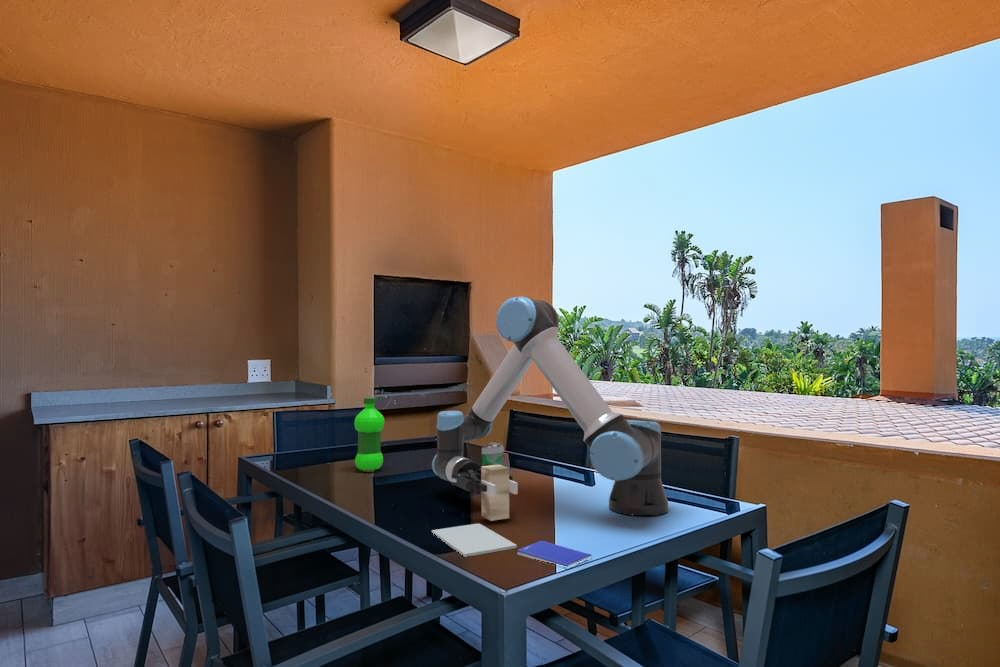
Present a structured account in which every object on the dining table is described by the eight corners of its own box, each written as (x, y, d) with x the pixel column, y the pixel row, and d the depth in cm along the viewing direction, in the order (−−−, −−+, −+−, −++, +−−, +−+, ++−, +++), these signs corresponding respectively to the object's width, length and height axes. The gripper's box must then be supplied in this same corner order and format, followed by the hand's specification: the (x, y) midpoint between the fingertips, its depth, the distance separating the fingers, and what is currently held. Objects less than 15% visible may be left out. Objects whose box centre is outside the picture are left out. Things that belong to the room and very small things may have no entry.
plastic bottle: (347, 472, 202) (348, 398, 203) (367, 467, 212) (367, 396, 213) (371, 475, 198) (372, 399, 199) (390, 469, 207) (390, 397, 208)
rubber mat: (431, 533, 134) (431, 530, 134) (479, 525, 140) (479, 523, 140) (464, 557, 118) (464, 554, 118) (516, 548, 124) (516, 545, 124)
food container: (500, 479, 191) (500, 448, 192) (481, 478, 193) (481, 447, 193) (507, 472, 203) (507, 442, 204) (489, 471, 205) (489, 442, 205)
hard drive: (517, 549, 120) (567, 564, 112) (542, 539, 126) (591, 553, 118) (517, 557, 120) (567, 572, 112) (542, 547, 126) (591, 561, 118)
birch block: (481, 515, 145) (481, 466, 146) (499, 513, 147) (499, 464, 148) (490, 520, 141) (490, 469, 141) (509, 518, 143) (509, 467, 143)
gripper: (494, 483, 164) (538, 501, 144) (433, 490, 156) (470, 510, 135) (494, 456, 165) (538, 470, 144) (433, 461, 156) (470, 477, 136)
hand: (505, 489), depth 140 cm, fingers closed on birch block, 5 cm apart
